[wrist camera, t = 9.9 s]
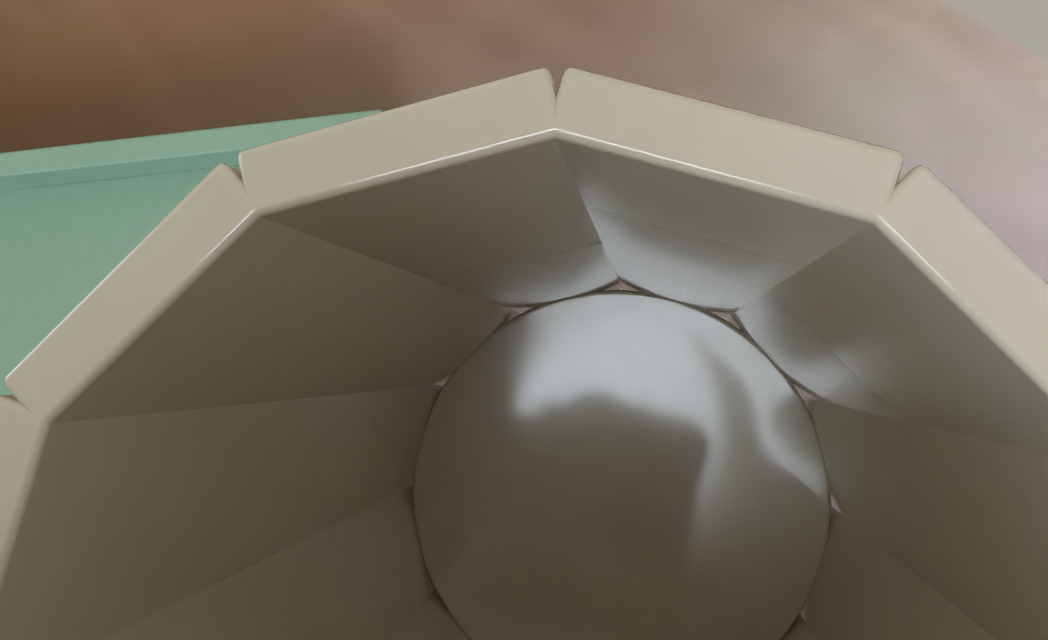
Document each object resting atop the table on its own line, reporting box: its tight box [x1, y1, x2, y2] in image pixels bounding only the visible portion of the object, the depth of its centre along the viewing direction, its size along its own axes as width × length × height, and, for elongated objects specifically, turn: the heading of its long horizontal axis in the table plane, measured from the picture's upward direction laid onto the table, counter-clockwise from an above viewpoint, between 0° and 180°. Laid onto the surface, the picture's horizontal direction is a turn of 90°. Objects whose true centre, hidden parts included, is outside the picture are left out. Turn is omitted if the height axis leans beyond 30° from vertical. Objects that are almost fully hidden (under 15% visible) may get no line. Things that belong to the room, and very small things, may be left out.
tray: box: [0, 109, 383, 396], centre depth 23 cm, size 19×14×2 cm
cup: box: [0, 68, 1048, 640], centre depth 10 cm, size 7×7×10 cm
